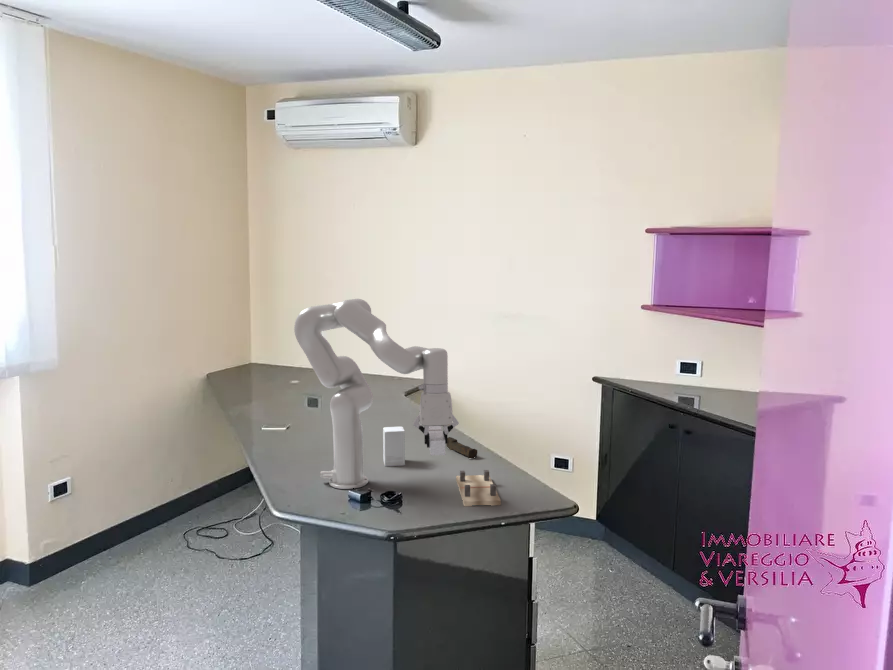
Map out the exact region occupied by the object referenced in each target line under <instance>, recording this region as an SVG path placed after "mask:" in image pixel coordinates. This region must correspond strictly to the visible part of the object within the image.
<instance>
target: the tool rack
mask: <svg viewBox="0 0 893 670" xmlns="http://www.w3.org/2000/svg"><path fill="white" fill-rule="evenodd" d="M455 478H456V479H455V481H456V484H457V486H458V487H459V488H458V487H457V488H458V490H459V494H460V497H461V500H463V501H462V504H463V506H464V507H473V506H472V505H491V506H501V504H502V502H501V501H502V500H501V498H500V496H499V493H498V491H497V486H496V484H495V483H493V480H492V478H491V476H490V470H489V469H484V470H483V474H478V475H477V474H476V475H470V474H469V475H466V471H465V470H459V475H456V477H455Z"/></svg>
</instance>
